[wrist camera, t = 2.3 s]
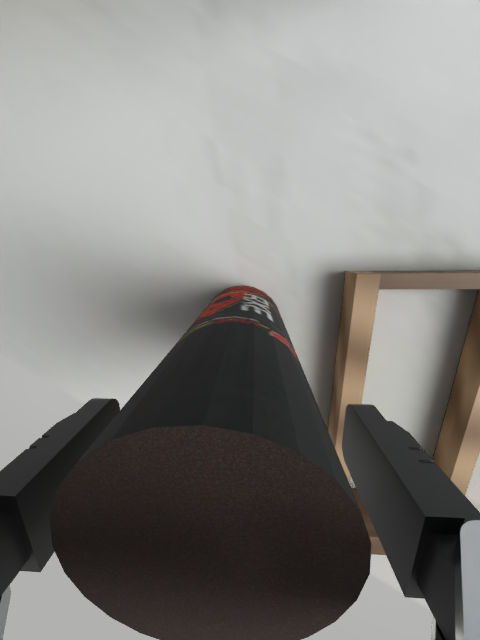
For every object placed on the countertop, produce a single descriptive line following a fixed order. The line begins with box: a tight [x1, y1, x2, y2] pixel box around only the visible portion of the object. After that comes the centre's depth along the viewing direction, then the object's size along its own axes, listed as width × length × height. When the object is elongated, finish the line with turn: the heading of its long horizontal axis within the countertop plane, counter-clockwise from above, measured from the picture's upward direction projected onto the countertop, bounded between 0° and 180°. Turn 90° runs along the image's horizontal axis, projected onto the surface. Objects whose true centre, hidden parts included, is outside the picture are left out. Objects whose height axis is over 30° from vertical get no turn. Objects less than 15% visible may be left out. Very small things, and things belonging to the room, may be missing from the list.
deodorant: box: [49, 286, 371, 640], centre depth 12 cm, size 6×6×15 cm
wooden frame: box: [328, 271, 480, 555], centre depth 18 cm, size 23×11×4 cm, turn 1°
